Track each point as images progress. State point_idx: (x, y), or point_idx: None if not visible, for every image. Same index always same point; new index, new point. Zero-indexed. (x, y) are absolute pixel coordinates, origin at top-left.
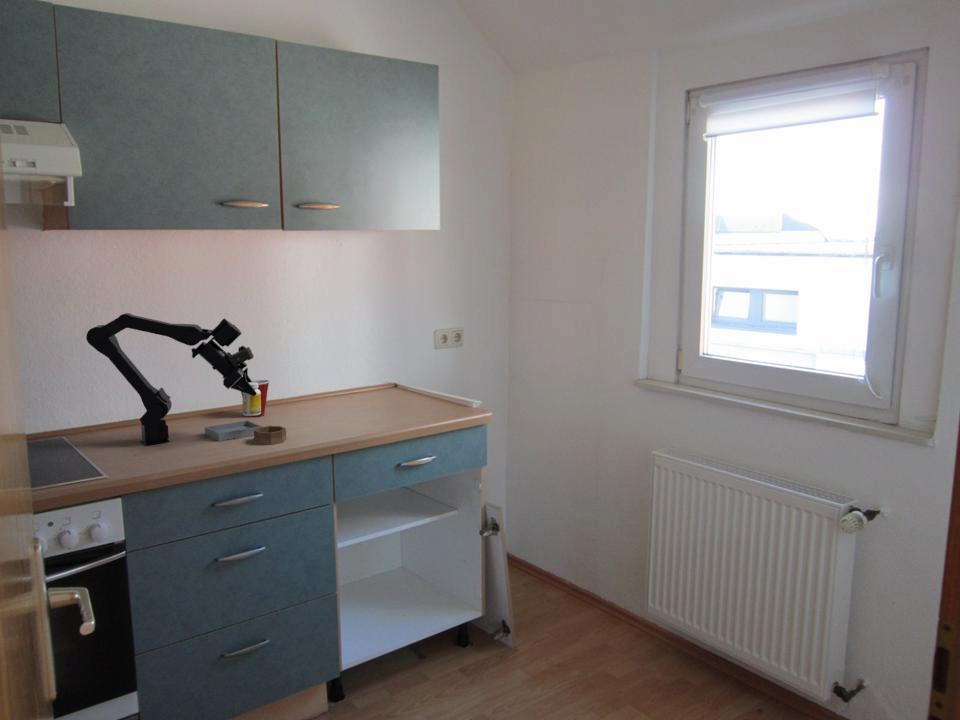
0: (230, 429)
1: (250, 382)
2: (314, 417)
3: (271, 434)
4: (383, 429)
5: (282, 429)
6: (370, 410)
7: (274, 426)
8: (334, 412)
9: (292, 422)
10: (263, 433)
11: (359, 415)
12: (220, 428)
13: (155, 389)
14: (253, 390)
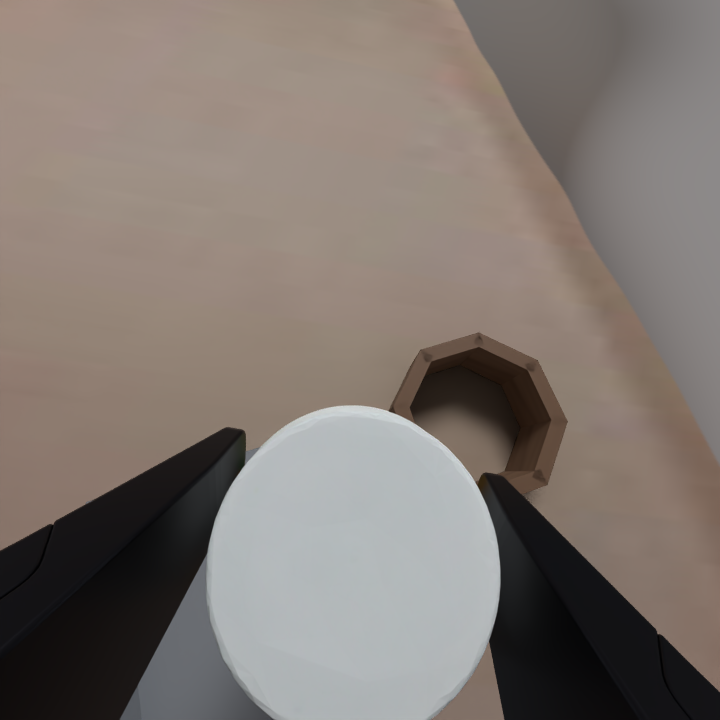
0: (170, 623)
1: (214, 566)
2: (100, 179)
3: (562, 419)
4: (419, 40)
5: (498, 352)
6: (113, 2)
7: (417, 381)
8: (59, 100)
9: (141, 275)
10: (552, 460)
11: (171, 46)
12: (134, 701)
13: None
14: (546, 528)
